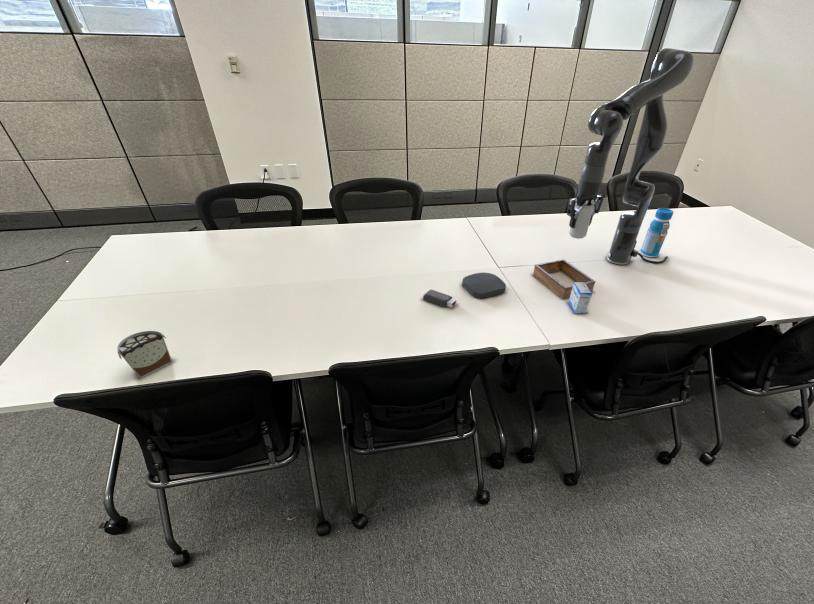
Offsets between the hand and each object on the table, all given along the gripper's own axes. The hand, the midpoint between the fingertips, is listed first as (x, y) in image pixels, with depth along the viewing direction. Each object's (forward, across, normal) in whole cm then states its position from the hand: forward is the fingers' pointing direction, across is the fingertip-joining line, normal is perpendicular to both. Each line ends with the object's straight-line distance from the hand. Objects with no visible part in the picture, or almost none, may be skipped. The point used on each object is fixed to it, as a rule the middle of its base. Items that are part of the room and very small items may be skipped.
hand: (579, 226), depth 154 cm
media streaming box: (+23, -34, +8) cm, 42 cm away
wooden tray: (+23, -2, 0) cm, 24 cm away
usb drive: (+23, -54, +5) cm, 59 cm away
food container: (+23, -149, +1) cm, 150 cm away
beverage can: (+4, 0, 0) cm, 4 cm away
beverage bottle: (+24, +54, +9) cm, 60 cm away
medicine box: (+24, -7, -18) cm, 30 cm away
